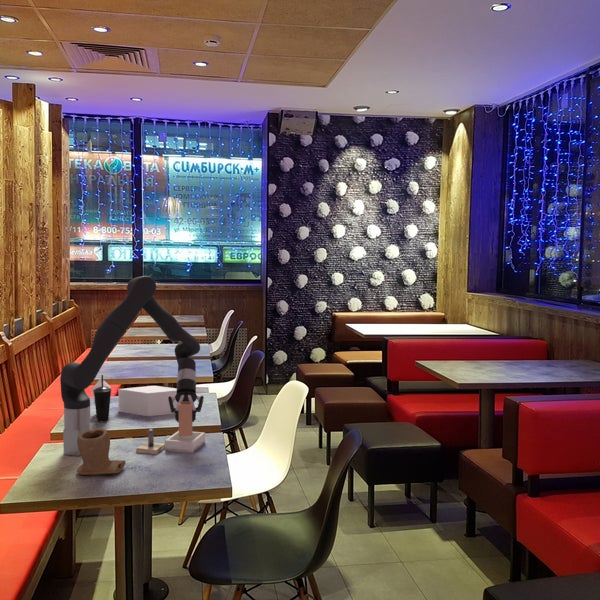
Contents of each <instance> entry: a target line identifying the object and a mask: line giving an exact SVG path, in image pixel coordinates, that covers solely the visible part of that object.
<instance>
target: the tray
mask: <svg viewBox="0 0 600 600" xmlns="http://www.w3.org/2000/svg"><path fill="white" fill-rule="evenodd" d="M205 443H206V432H201V431H192V436H179V430H177V431H176V432H175V433H173V434H172V435H170V436H169V437H168V438H166V439H165V440H164V444H165V448H164V451H165V452H177V453H186V454H194V453H195V452H196V451H197V450H198V449H199V448H201V447H202V446H203V445H204V444H205Z"/></svg>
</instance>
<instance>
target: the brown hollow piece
mask: <svg viewBox="0 0 600 600" xmlns="http://www.w3.org/2000/svg"><path fill="white" fill-rule="evenodd" d="M77 444H78V449H79V452H80V456H81V458H82V464H80V465H79V466H78V467H77V469H76V472H77V474H78V475H83V476H84V475H86V476H90V475H91V476H92V475H96V476H97V475H109V474H111V475H112V474H118V473H120V472H121V471H122V470H123V469H124V467H125V465H126V464H127V463H126V462H127V461H126V460H124V459H123V460H122V459H121V460H120V459H119V460H118V459H117V460H115V459H114V460H111V459H110V458H109V456H110V455H109V453H110V447H111V437H110V434H109V432H108V431H107V429H104V428H95V429H91V430H87V431H85V432H83V433H81V434H80V435H79V436H78V439H77Z"/></svg>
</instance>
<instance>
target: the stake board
mask: <svg viewBox="0 0 600 600" xmlns="http://www.w3.org/2000/svg"><path fill="white" fill-rule="evenodd" d="M135 450H136V453H141V454H149V455H150V454H151V455H157V454H158V453H160V452H162V450H165V442H164V443H162V442H161V443H160V442H154V446H153V447H149V446H148V441H145V442H144V443H142V444H140V445H139V446H138V447H136V448H135Z"/></svg>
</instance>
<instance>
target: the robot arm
mask: <svg viewBox="0 0 600 600" xmlns="http://www.w3.org/2000/svg"><path fill="white" fill-rule="evenodd" d="M156 283H157V282H156V281H155V279H154V278H153V277H151V276H149V275H142V276H137V277H134V278H131V279H130V280H129V281H128V283H127V286H126V292H127V293H128V294H127V296H126V297H125V298H124V300H123V301H122V302H121V303H120V304H119V305H117V306H116V308H114V309H113V310H112V311H111V312H110V313H108V315H107V316H106V317H105V318H104V319H103V321H102V322H101V323H100V325H99V326H98V327H97V329H96V331H95V332H94V337H93V341H92V345H91V348H90V350H89V352H88V353H87V355H86V356H85V358H84V359H83V360H82V361H81V363H79V362H74V361H73V362H69V363H66V364H65V365H64V366H63V368H62V369H61V372H60V381H59V382H60V395H61V400H62V402H63V424H64V425H63V426H64V428H63V431H62V433H63V434H62V435H63V436H62V437H63V455H65V456H76V457H79V456H81V455H80V452H79V449H78V444H77V439H78V436H79V435H80V434H81V433H83V432H85V431H87V430H92V429H91V399H90V396H89V395H88V394H87V392H86V389H88V388H89V387H90V386H91V385H92V384H93V382H94V381H95V379H96V377H97V376H98V373H99V372H100V370H101V368H102V367H103V365H104V363H105V361H107V358H108V357H109V356H110V354H111V353H112V352H113V351H114V349H115V348H116V346H117V344H118V343H119V342H120V341H121V339H122V338H123V336H124V335H125V334H126V332H127V330H128V329H129V327H130V326H131V324H132V323H133V322H134V321H135V318H136V317H137V315H138V314H139V313H140V312H141V310H142V309H143V310H144V311H145V312H146V313H147V314H148V315H149V317H150V318H151V319H152V320H153V321H154V322H155V323H156V324H157V325H158V327H159V329H161V331H162V332H163V334H164V335H165V336H166V338H167V339H168V340H169V341H170V342H177V341H178V342H179V343H177V345H175V348H174V355H175V358H176V362H177V375H176V376H177V377H176V389H177V393H176V395H175V397H171V396H169V397H168V400H169V405H170V409H171V412H172V414H175V415H174V417H175V418H174V420H175V421H176V422H177V423H179V402H192V423H194V422H195V421H196V420H197V418H196V416H197V415H196V414H197V413H201V412H202V408H203V404H204V397H205V396H204V395H200V396H198V395H197V376H196V375H197V374H196V372H197V371H196V370H197V369H196V364H197V363H196V361H195V360H194V359H193V358H191V357H192V356H195V355H197V354H198V353H200V351H201V344H200V343H199V341H198V339H197V338H195V337H194V335H192V334H191V333H189V332H188V331H186V329H184V328H183V327H182V325H181V324H180V322H178V320H177V319H176V317H174V316H173V314H172V313H170V311H168V310H167V309H166V308H164V307H163V306H162V305H161V304H160V303H159V302H158V301H157V300H156V299H155V297H154V295H155V294H156V291H157V284H156ZM174 400H176V401H177V402H178V404H177V407H176V408H174V406H173V403H174ZM196 401H197V402H198V404H197V407H196V406H195V402H196ZM173 412H174V413H173Z"/></svg>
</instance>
